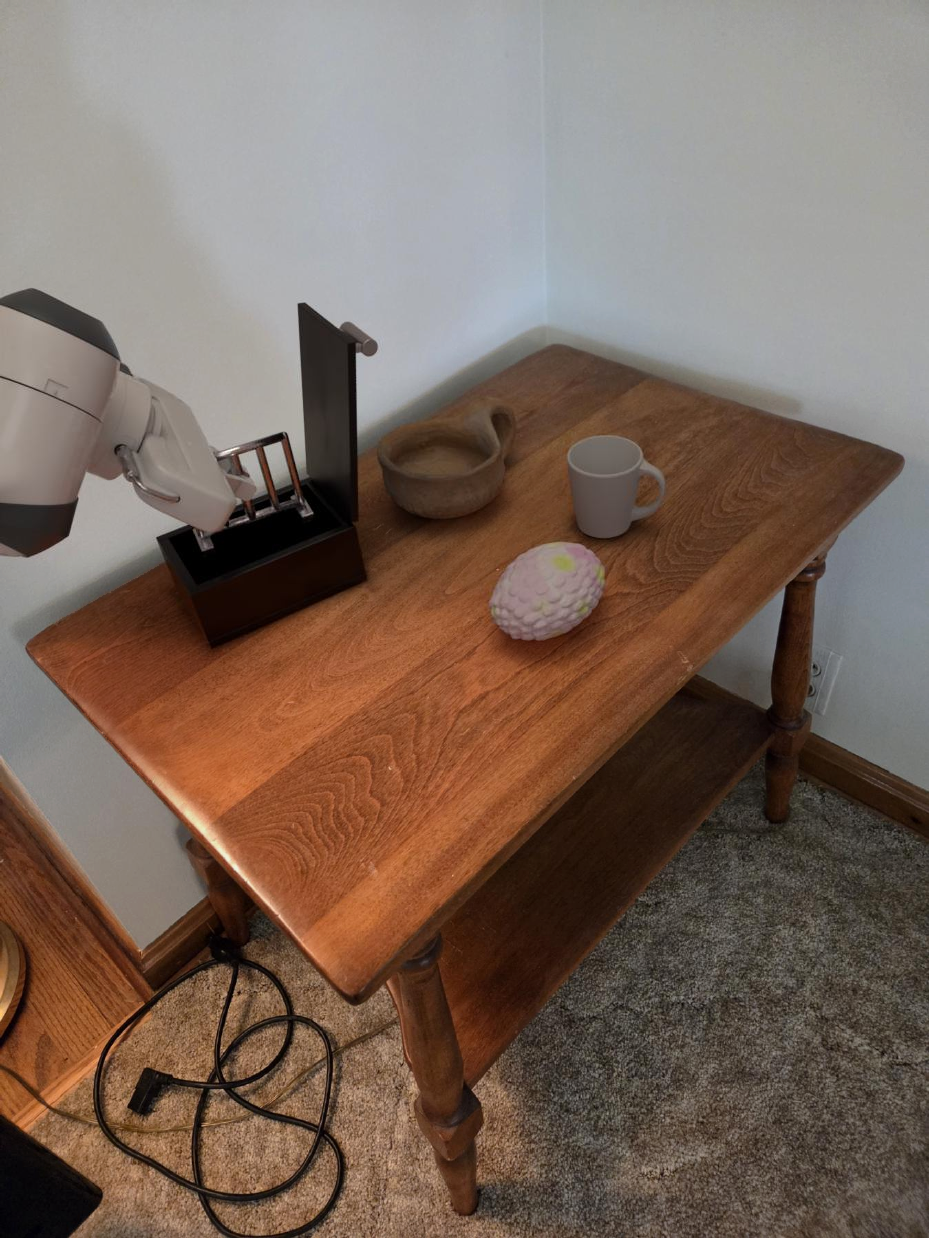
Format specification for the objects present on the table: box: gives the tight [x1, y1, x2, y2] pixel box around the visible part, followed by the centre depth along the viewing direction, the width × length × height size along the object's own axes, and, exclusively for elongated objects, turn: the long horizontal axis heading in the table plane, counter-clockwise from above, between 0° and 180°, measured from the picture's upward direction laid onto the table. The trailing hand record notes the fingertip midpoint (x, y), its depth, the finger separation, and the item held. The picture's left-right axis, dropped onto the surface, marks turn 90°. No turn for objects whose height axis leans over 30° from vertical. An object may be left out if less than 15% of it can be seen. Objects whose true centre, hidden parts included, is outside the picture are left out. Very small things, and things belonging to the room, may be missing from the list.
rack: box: [193, 431, 315, 557], centre depth 86 cm, size 11×4×9 cm, turn 115°
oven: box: [155, 476, 368, 650], centre depth 92 cm, size 17×11×7 cm, turn 121°
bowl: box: [376, 396, 517, 520], centre depth 101 cm, size 18×14×10 cm
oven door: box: [296, 302, 379, 523], centre depth 87 cm, size 18×11×4 cm
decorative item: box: [488, 541, 606, 642], centre depth 84 cm, size 9×11×10 cm
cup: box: [566, 434, 667, 539], centre depth 93 cm, size 8×10×8 cm
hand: (248, 485), depth 86 cm, fingers closed on rack
